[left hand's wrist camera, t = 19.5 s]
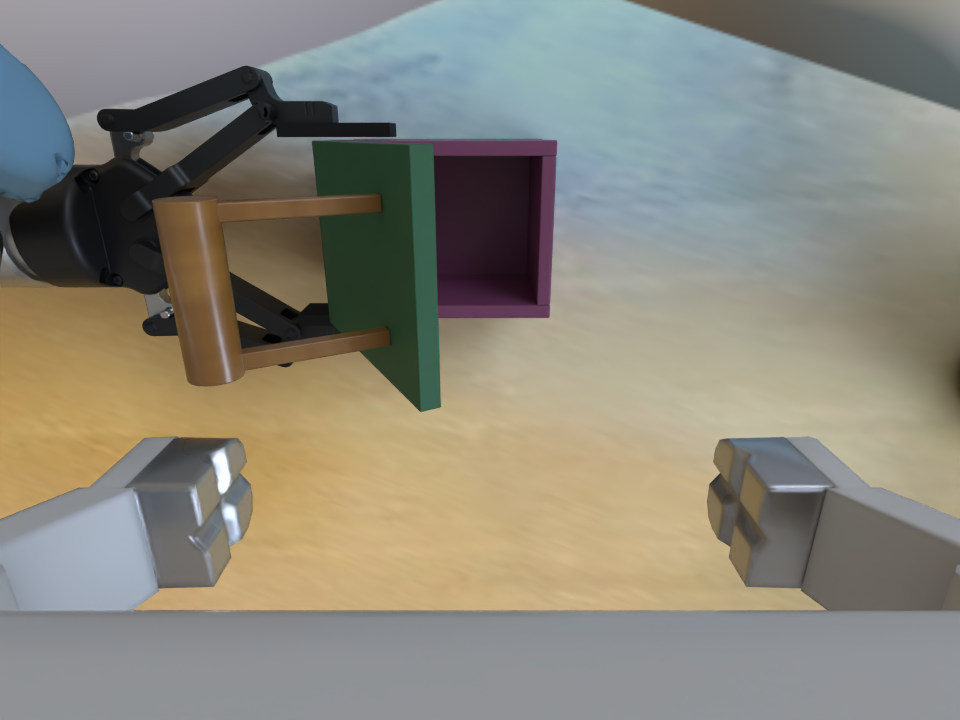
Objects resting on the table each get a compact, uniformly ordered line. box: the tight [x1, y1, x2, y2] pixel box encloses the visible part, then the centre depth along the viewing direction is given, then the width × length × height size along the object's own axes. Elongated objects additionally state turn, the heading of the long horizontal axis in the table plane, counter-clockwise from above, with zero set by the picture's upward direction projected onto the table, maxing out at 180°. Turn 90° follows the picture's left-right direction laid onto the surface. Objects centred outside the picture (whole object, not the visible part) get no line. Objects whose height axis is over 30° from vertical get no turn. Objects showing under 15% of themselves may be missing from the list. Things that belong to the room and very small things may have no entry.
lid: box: [152, 141, 441, 412], centre depth 26 cm, size 14×10×9 cm
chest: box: [331, 139, 557, 318], centre depth 38 cm, size 13×10×9 cm
